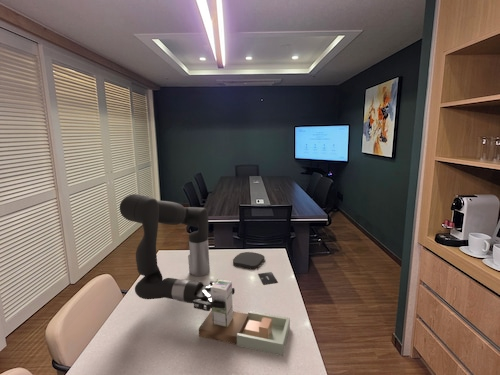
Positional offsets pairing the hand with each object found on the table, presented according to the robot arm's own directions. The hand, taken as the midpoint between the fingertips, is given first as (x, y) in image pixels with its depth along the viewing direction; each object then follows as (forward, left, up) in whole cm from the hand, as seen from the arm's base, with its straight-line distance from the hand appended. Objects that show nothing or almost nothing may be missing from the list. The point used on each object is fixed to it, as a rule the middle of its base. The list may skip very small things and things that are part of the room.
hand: (229, 297), depth 97 cm
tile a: (+9, 0, -12) cm, 15 cm away
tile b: (+11, 0, -9) cm, 14 cm away
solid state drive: (+4, +38, -13) cm, 40 cm away
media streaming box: (-10, +52, -13) cm, 55 cm away
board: (-2, 0, -12) cm, 13 cm away
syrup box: (-3, 0, -10) cm, 10 cm away
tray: (+12, 0, -12) cm, 17 cm away
